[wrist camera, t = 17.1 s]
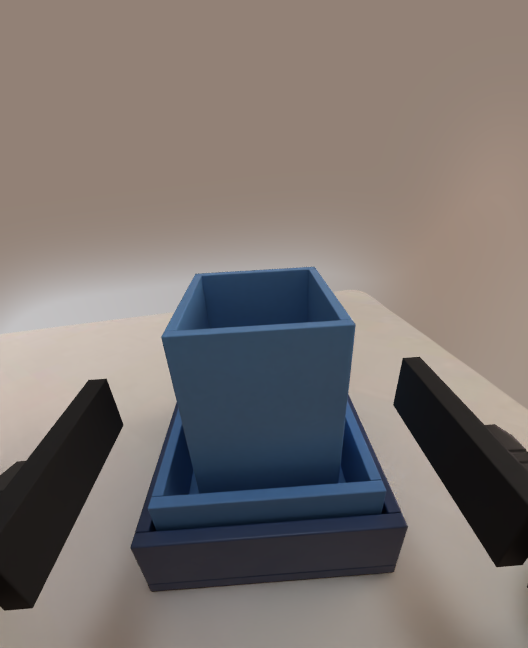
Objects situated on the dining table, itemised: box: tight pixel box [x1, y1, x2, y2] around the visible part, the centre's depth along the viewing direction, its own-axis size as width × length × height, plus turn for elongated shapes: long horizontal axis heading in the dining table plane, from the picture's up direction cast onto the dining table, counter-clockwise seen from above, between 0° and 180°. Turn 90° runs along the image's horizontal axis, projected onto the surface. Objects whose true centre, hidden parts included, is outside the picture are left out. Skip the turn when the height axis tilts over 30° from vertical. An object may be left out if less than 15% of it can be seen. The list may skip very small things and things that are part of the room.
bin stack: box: [131, 395, 408, 591], centre depth 21 cm, size 14×14×6 cm
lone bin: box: [161, 267, 356, 494], centre depth 19 cm, size 8×8×13 cm
